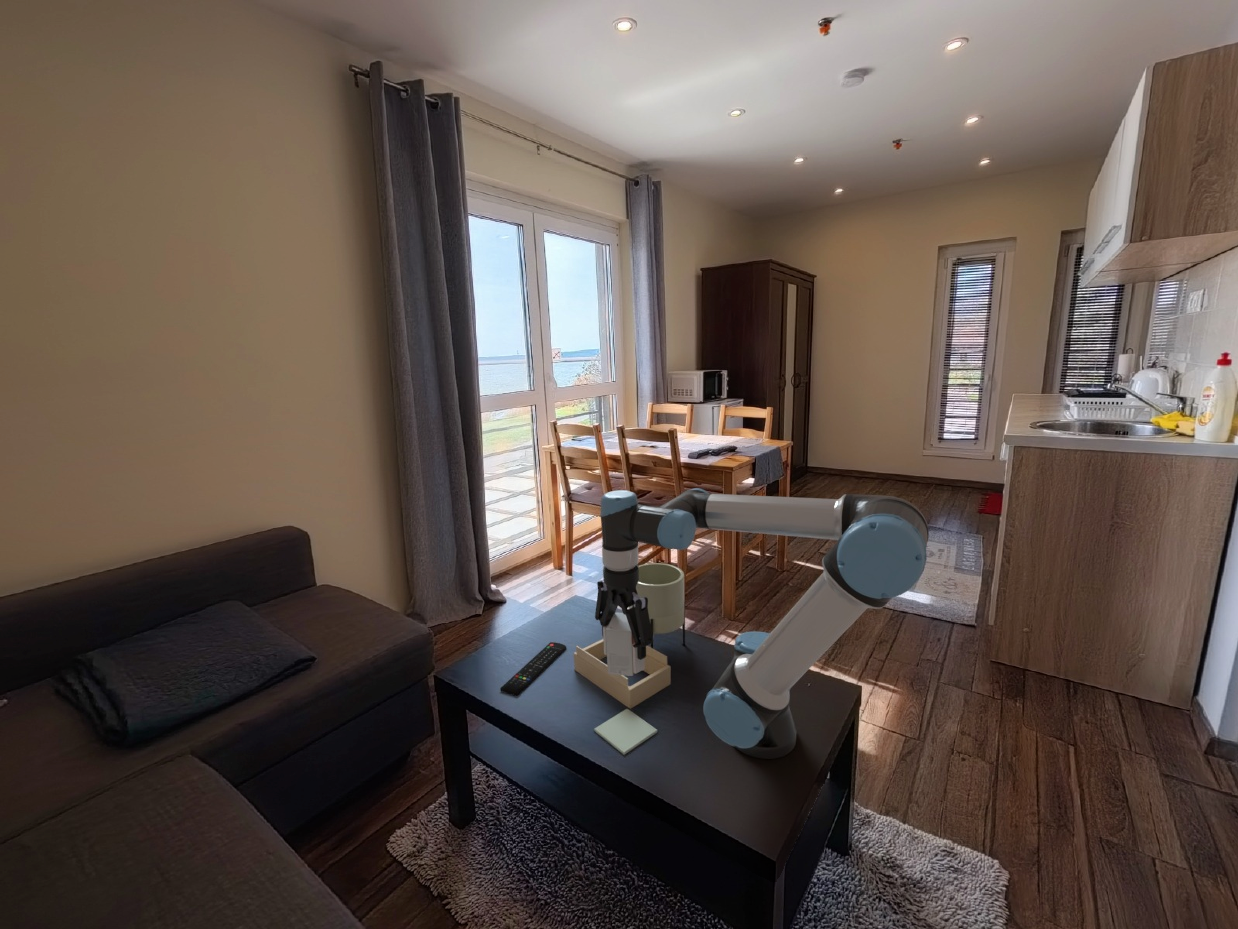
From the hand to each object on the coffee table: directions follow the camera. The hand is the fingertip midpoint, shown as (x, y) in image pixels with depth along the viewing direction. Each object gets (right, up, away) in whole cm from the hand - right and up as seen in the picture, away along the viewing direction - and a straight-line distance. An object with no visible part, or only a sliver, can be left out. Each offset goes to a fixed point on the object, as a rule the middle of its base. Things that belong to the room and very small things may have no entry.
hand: (623, 661), depth 119 cm
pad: (0, -17, +3) cm, 17 cm away
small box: (0, -1, 0) cm, 1 cm away
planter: (+10, -10, +36) cm, 38 cm away
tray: (0, -13, +23) cm, 27 cm away
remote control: (-24, -13, +29) cm, 39 cm away
